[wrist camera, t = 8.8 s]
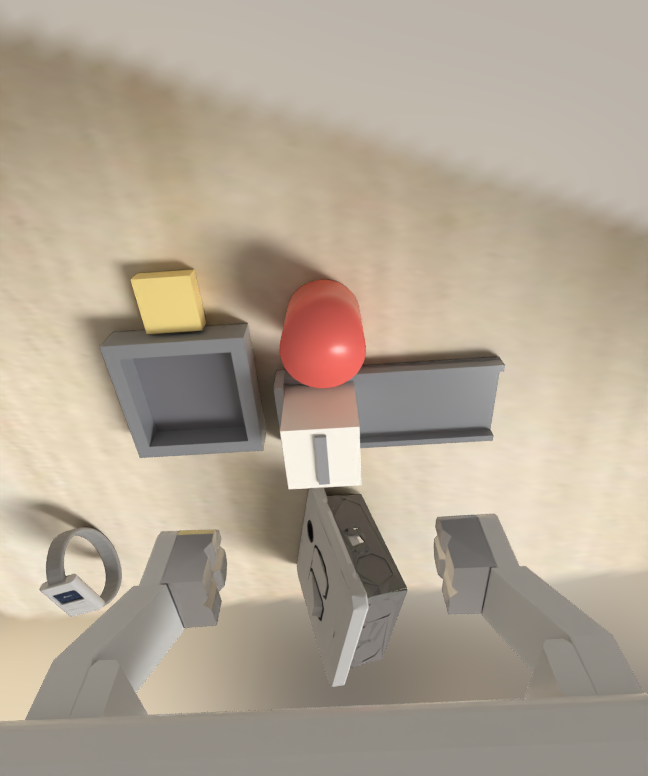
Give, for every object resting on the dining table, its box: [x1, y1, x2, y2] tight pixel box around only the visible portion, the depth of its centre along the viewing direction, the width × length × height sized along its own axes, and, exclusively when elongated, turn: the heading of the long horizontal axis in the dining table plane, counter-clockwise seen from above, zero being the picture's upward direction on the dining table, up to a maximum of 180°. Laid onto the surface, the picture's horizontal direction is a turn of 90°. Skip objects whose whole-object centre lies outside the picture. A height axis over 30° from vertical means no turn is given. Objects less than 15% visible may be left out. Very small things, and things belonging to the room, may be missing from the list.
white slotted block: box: [280, 381, 361, 489], centre depth 26 cm, size 4×4×5 cm
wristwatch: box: [40, 527, 122, 617], centre depth 33 cm, size 6×3×5 cm, turn 21°
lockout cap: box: [280, 279, 366, 388], centre depth 23 cm, size 4×4×4 cm
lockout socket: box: [100, 269, 266, 458], centre depth 26 cm, size 8×11×2 cm
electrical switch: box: [297, 487, 407, 687], centre depth 31 cm, size 9×5×9 cm, turn 172°
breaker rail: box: [274, 357, 505, 463], centre depth 27 cm, size 13×5×2 cm, turn 94°
